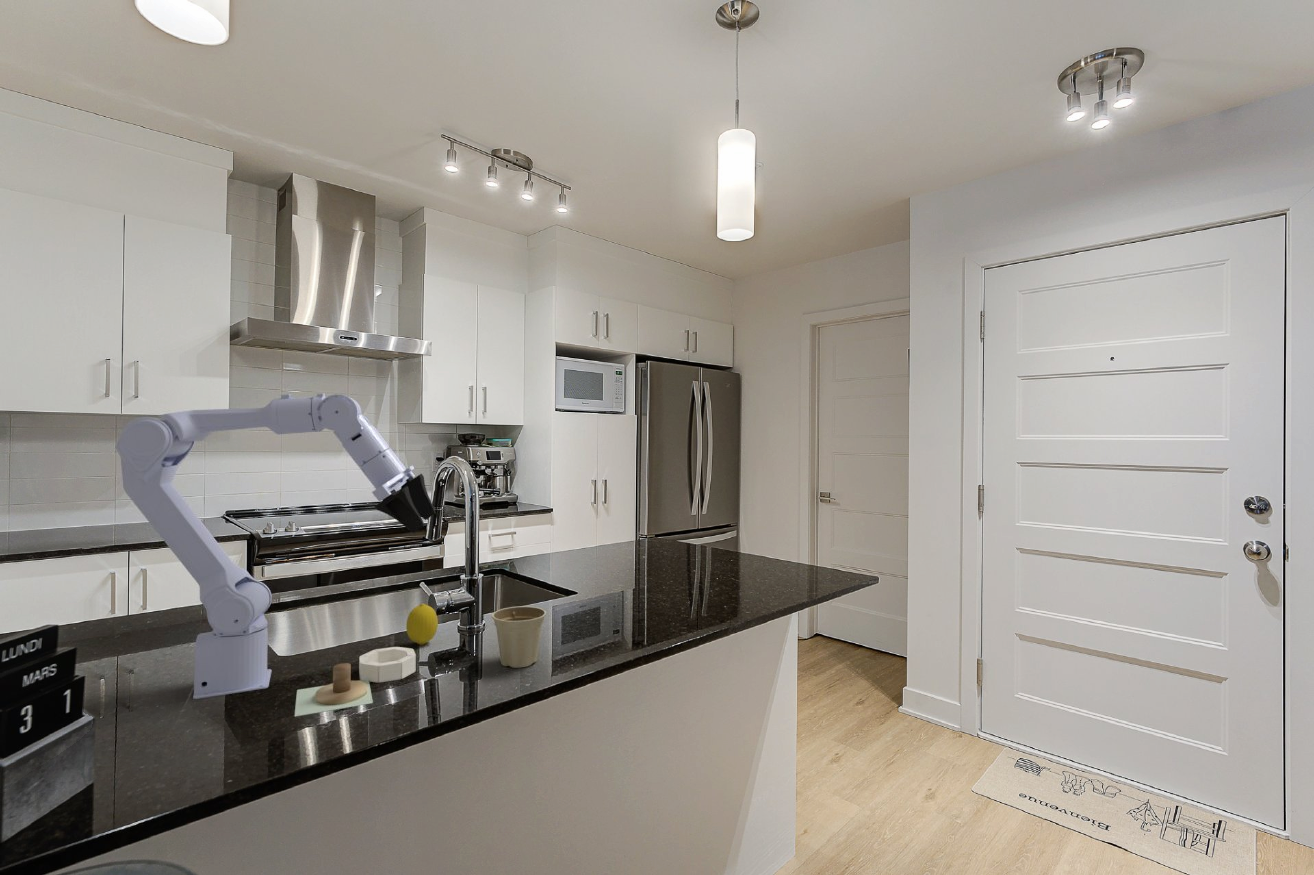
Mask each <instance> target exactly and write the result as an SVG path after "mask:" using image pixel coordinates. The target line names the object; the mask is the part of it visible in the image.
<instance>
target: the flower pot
mask: <svg viewBox="0 0 1314 875" xmlns="http://www.w3.org/2000/svg"><path fill="white" fill-rule="evenodd" d="M546 616H547V611H546V610H544V609H543V608H541V607H537V606H530V605H529V606H528V605H527V606H525V605H524V606H523V605H522V606H521V605H520V606H511V607H505V608H500V609H498V610H496V611H494V612H492V613H491V619H492V620H493V621H494V622H493V623H494V627H495V628H496V634H497V642H498V643H497V644H498V651H499V657H500V658H499V659H500V664H501V665H502V666H504V667H507V666H509V667H511V668H514V669H518V668H519V669H520V668H526V667H530V666H532V664H534V663H537V660H538V653H539V652H538V651H539V645H540V639H541V631H542V625H543V624H544V619H545V617H546Z"/></svg>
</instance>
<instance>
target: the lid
mask: <svg viewBox="0 0 1314 875" xmlns="http://www.w3.org/2000/svg"><path fill="white" fill-rule="evenodd" d="M351 668H352V664H351V663H348V662H347V663H346V662H345V663H344V662H343V663H337V664H335V665H333V666H332V683H329V684H326V685H323V686H324V687H322V688H320V689H319V690H317V691H316V693H315V700H316V702H317V703H319V704H323V705H339V704H345V703H349V702H353V701H355V700H358V699H360V698H362V697H363V696H365V695H366V693H367V684H366V683H364V682H361V681H358V680H351V677H352V676H351V674H352V672H351V670H352V669H351Z"/></svg>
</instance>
